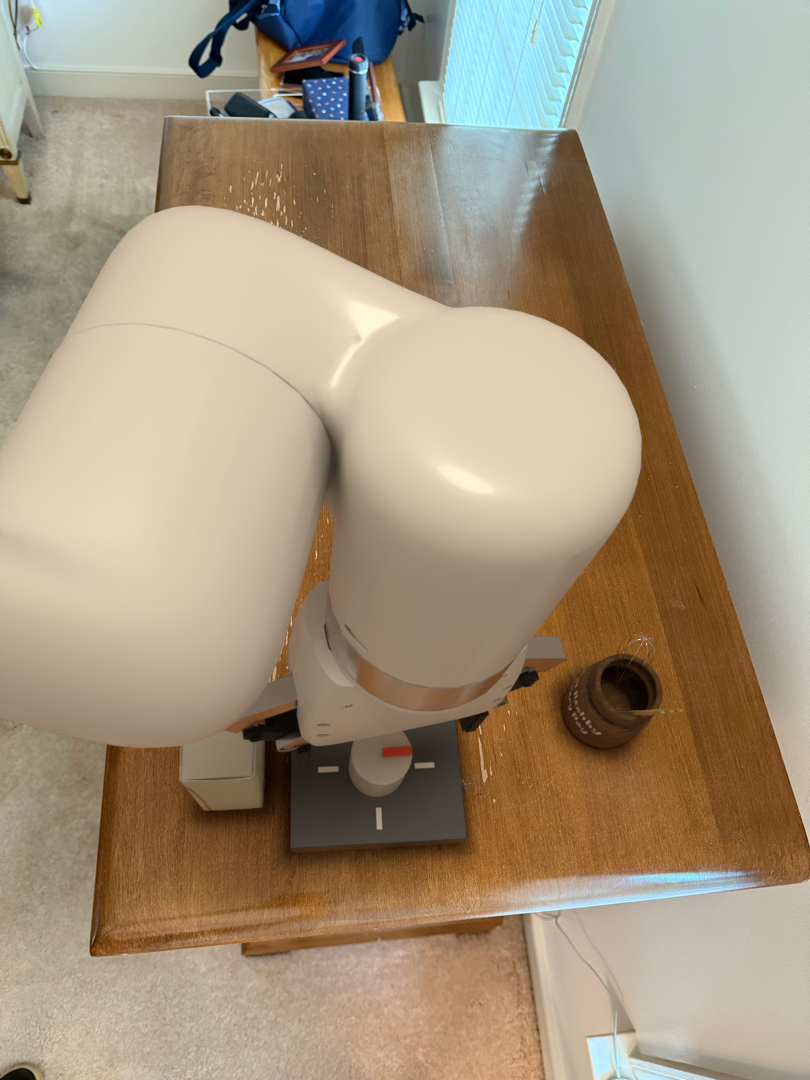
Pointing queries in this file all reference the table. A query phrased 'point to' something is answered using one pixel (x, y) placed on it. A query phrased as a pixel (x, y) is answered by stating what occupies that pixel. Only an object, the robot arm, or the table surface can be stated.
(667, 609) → the table surface
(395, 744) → the hob knob
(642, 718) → the utensil holder
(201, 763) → the cosmetic box
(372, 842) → the panel
